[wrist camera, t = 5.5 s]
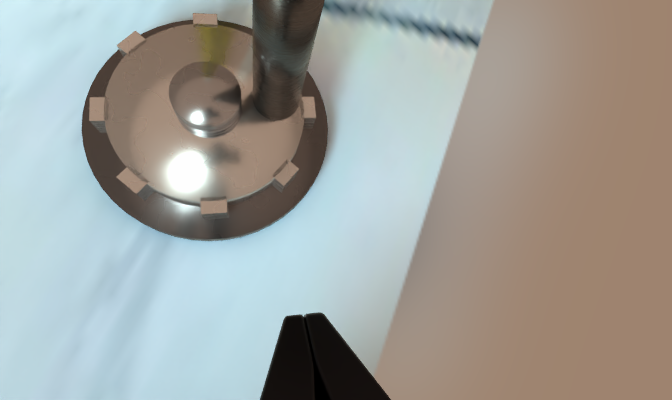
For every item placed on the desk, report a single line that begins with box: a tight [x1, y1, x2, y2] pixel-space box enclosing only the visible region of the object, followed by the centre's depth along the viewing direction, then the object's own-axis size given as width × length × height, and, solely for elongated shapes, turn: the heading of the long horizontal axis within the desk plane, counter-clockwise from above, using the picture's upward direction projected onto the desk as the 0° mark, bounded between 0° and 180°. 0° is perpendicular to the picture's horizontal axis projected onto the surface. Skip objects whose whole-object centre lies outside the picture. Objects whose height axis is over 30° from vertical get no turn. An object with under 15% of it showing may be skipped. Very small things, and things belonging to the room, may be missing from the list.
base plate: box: [82, 20, 328, 241], centre depth 20 cm, size 13×13×4 cm
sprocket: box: [89, 0, 324, 220], centre depth 15 cm, size 11×11×12 cm
